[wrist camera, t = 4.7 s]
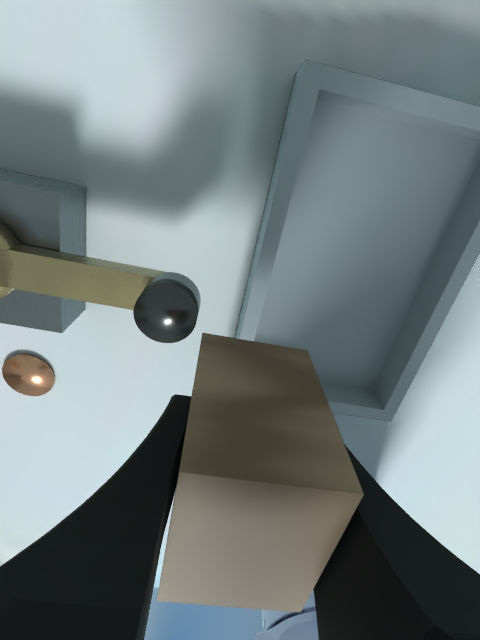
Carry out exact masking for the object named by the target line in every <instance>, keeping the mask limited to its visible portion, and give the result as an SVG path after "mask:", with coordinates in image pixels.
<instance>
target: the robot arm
mask: <svg viewBox="0 0 480 640" xmlns="http://www.w3.org/2000/svg"><path fill="white" fill-rule="evenodd" d="M191 398H192V397H191V396H183V395H176V394H175V395H174V396H172V397H171V400H170V402H169V404H168V406H167V407H166V409H165V411H164V412H163V414H162V416H161V417H160V419H159V420H158V422H157V423H156V424H155V426H154V427H153V429H152V430H151V431H150V433H149V434H148V436H147V437H146V438H145V439H144V441H143V442H142V443H141V444H140V445H139V447H138V448H137V449H136V450H135V452H134V453H133V454H132V455H131V456H130V457H129V459H128V460H127V461H126V462H125V463H124V464H123V465H122V466H121V467H120V468H119V469H118V471H117V472H116V473H115V474H114V475H113V476H112V477H111V478H110V479H109V480H108V481H107V482H106V483H105V484H104V485H102V486H101V487H100V488H99V489H98V490H97V491H96V492H95V493H94V494H93V495H92V496H91V497H90V498H89V499H87V500H86V501H85V502H84V503H83V504H82V505H81V506H79V507H78V508H77V509H76V510H75V511H73V512H72V513H71V514H70V515H68V516H67V517H66V518H65V519H64V520H62V521H61V522H60V523H59V524H57V525H56V526H55V527H54V528H53V529H51V530H50V531H49V532H47V533H46V534H45V535H43V536H42V537H41V538H39V539H38V540H37V541H35V542H34V543H32V544H31V545H30V546H28V547H27V548H25V549H24V550H23V551H21V552H20V553H19V554H17V555H16V556H14V557H13V558H12V559H10V560H9V561H7V562H6V563H4V564H3V565H2V566H1V567H0V640H144V636H145V631H146V625H147V620H148V614H149V609H150V604H151V598H152V592H153V587H154V581H155V576H156V570H157V565H158V559H159V554H160V548H161V544H162V540H163V535H164V531H165V527H166V524H167V520H168V516H169V512H170V508H171V505H172V501H173V497H174V493H175V489H176V485H177V479H178V474H179V468H180V462H181V456H182V450H183V445H184V439H185V433H186V427H187V421H188V415H189V410H190V404H191ZM344 445H345V444H344ZM345 447H346V445H345ZM346 450H347V452H348V455H349V457H350V460H351V462H352V465H353V468H354V470H355V473H356V475H357V478H358V480H359V483H360V486H361V488H362V491H363V493H364V495H363V497H362V499H361V501H360V503H359V505H358V506H357V508H356V510H355V512H354V514H353V516H352V518H351V519H350V521H349V523H348V525H347V527H346V529H345V531H344V532H343V534H342V536H341V538H340V540H339V542H338V544H337V546H336V547H335V549H334V551H333V553H332V555H331V557H330V559H329V560H328V562H327V564H326V566H325V568H324V570H323V572H322V574H321V575H320V577H319V579H318V581H317V583H316V585H315V587H314V588H313V590H312V592H311V594H310V596H309V598H308V600H307V601H306V603H305V605H304V607H303V609H302V611H301V612H288V611H276V610H263V609H262V622H263V632H259V633H257V634H256V640H480V574H478V573H477V572H476V571H475V570H473V569H472V568H471V567H469V566H468V565H467V564H466V563H464V562H463V561H462V560H460V559H459V558H458V557H457V556H455V555H454V554H453V553H452V552H450V551H449V550H448V549H447V548H445V547H444V546H443V545H442V544H441V543H439V542H438V541H437V540H436V539H435V538H434V537H433V536H431V535H430V534H429V533H428V532H427V531H426V530H425V529H423V528H422V527H421V526H420V525H419V524H418V523H417V522H416V521H415V520H413V519H412V518H411V517H410V516H409V515H408V514H407V513H406V512H405V511H404V510H403V509H402V508H401V507H400V506H399V505H398V504H397V503H396V502H395V501H394V500H393V499H392V498H391V497H390V496H389V495H388V494H387V493H386V492H385V491H384V490H383V489H382V488H381V487H380V485H379V484H378V483H377V482H376V481H375V480H374V479H373V478H372V477H371V475H370V474H369V473H368V472H367V471H366V470H365V468H364V467H363V466H362V465H361V464H360V463H359V461H358V460H357V459H356V458H355V457H354V455H353V454H352V453H351V452H350V450H349V449H348V448H347V447H346Z"/></svg>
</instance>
